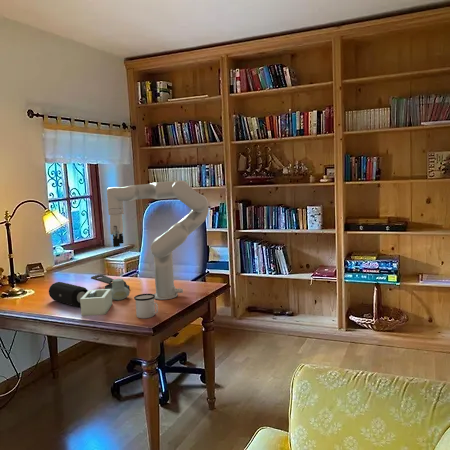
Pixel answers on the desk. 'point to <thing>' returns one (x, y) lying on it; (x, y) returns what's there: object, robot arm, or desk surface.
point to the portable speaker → (67, 293)
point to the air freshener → (119, 290)
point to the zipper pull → (107, 281)
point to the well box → (96, 302)
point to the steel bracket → (93, 294)
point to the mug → (145, 305)
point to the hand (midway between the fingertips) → (118, 244)
